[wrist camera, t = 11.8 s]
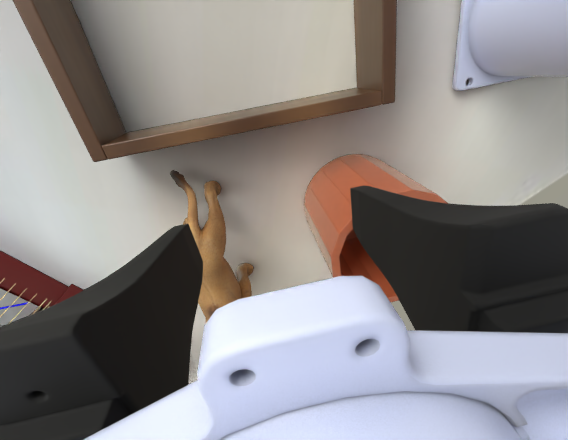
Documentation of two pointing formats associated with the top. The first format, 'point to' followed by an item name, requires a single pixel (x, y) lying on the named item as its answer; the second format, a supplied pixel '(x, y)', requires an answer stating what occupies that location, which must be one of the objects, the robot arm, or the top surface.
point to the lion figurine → (214, 252)
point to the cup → (338, 214)
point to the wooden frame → (117, 143)
